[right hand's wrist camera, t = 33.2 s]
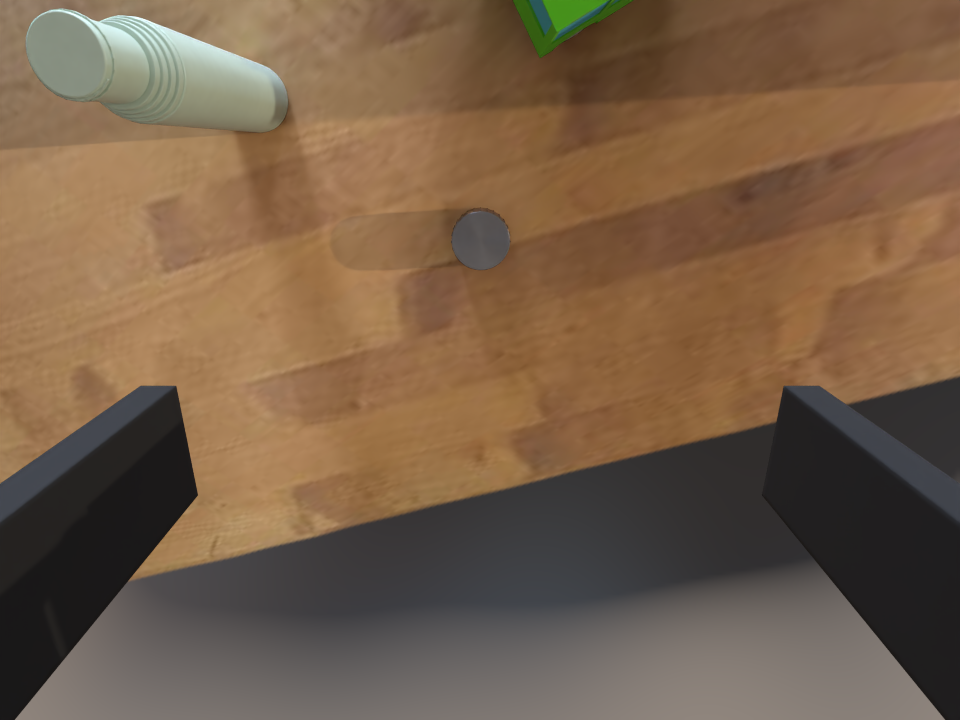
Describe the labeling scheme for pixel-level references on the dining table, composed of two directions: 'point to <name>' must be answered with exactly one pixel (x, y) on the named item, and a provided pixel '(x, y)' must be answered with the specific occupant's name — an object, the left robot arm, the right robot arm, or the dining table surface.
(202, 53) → the bottle
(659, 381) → the dining table surface
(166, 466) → the right robot arm
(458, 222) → the cap
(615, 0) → the toy car
